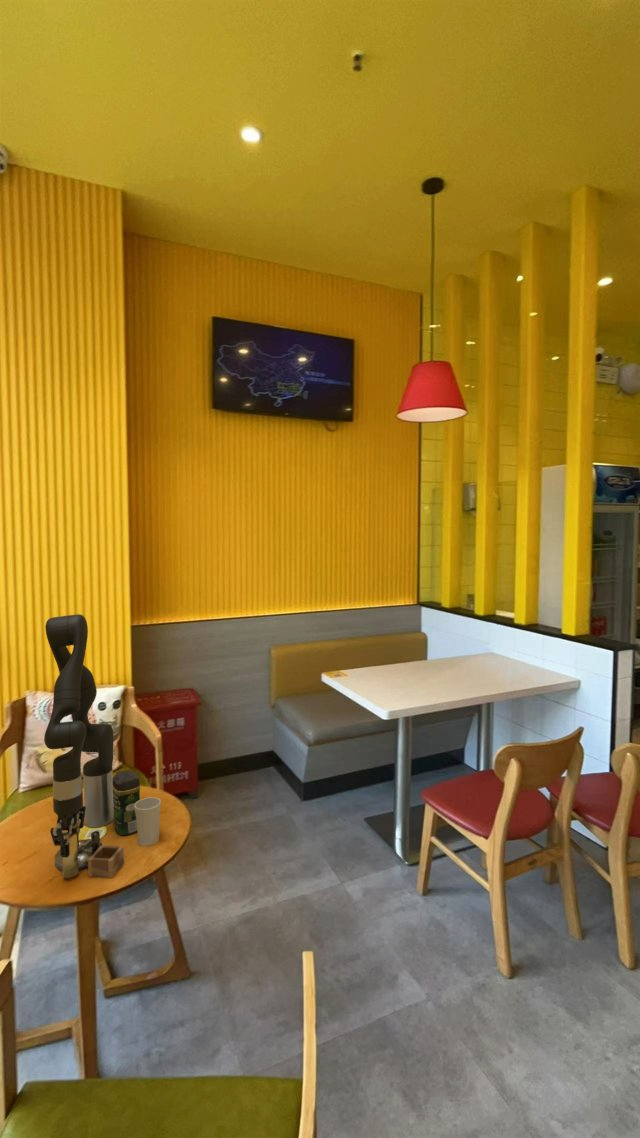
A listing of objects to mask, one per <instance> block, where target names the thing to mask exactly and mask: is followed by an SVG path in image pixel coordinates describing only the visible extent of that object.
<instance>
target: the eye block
mask: <svg viewBox="0 0 640 1138" xmlns="http://www.w3.org/2000/svg"><path fill="white" fill-rule="evenodd" d="M124 849H125V848H124V846H120V845H119V846H117V845H116V846H115V845H113V846H112V845H103V846H100V847H99V848H98V849H97V850H96V851H95V853H94V854H93V855H92V856H91V857H90V858H89V859H88V867H87V868H88V869H87V870H88V871H87V872H88V877H89V878H104V879H105V878H106V879H113V878H114V877H115V875H116V874H117V873H118V872H119V870H120V869H121V868H122V866H123V865H124V864H125V855H124V854H125V851H124Z"/></svg>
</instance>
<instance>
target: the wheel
mask: <svg viewBox="0 0 640 1138" xmlns="http://www.w3.org/2000/svg"><path fill="white" fill-rule="evenodd" d="M100 835H101V834H100V831H99V830H95V831H92V832H90V838H87V839H85V838H84V839H83V840H84V844H85V848H84V849H83V850H81V851H78V871H80V870H83V869H87V868H88V859H89V858H90V857H91V856H92V855H93V854H94V853H95V851H96V850H97V849H98V848H99V847H100V846H104V845H103V843H102V842H101V836H100ZM54 862H55V863H54V864H55V865H54V866H55V867H56V868H57V869H58V870H60V871H63V864H62V857H61V854H60V849H59V850H58V851H57V852H56V853H55V856H54Z"/></svg>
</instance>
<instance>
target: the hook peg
mask: <svg viewBox="0 0 640 1138" xmlns="http://www.w3.org/2000/svg"><path fill="white" fill-rule="evenodd" d="M63 837H64V840H65V838H66V836H63ZM69 851H70V855H69V856H68V857H67V858H66V857H62V864H63V870H62V877H63V878H66V879H70V878H73V877H75V876H77V875H78V874H79V870H78V842H77V833H76V832H72V834H71V835H70V837H69Z"/></svg>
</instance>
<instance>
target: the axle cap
mask: <svg viewBox="0 0 640 1138" xmlns="http://www.w3.org/2000/svg"><path fill="white" fill-rule="evenodd" d="M84 848H85V844H84V839H79V846H78V851H81V850H83V849H84Z"/></svg>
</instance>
